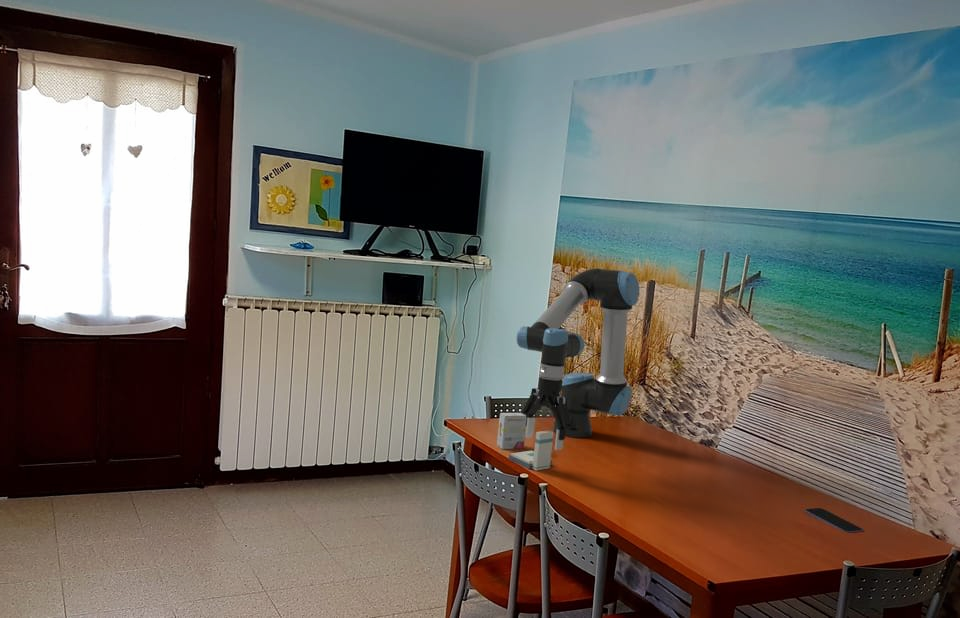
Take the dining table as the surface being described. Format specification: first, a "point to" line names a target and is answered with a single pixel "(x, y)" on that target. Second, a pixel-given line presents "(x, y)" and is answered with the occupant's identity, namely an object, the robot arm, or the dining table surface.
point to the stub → (542, 450)
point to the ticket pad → (523, 458)
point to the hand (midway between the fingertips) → (543, 443)
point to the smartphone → (833, 520)
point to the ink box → (511, 430)
